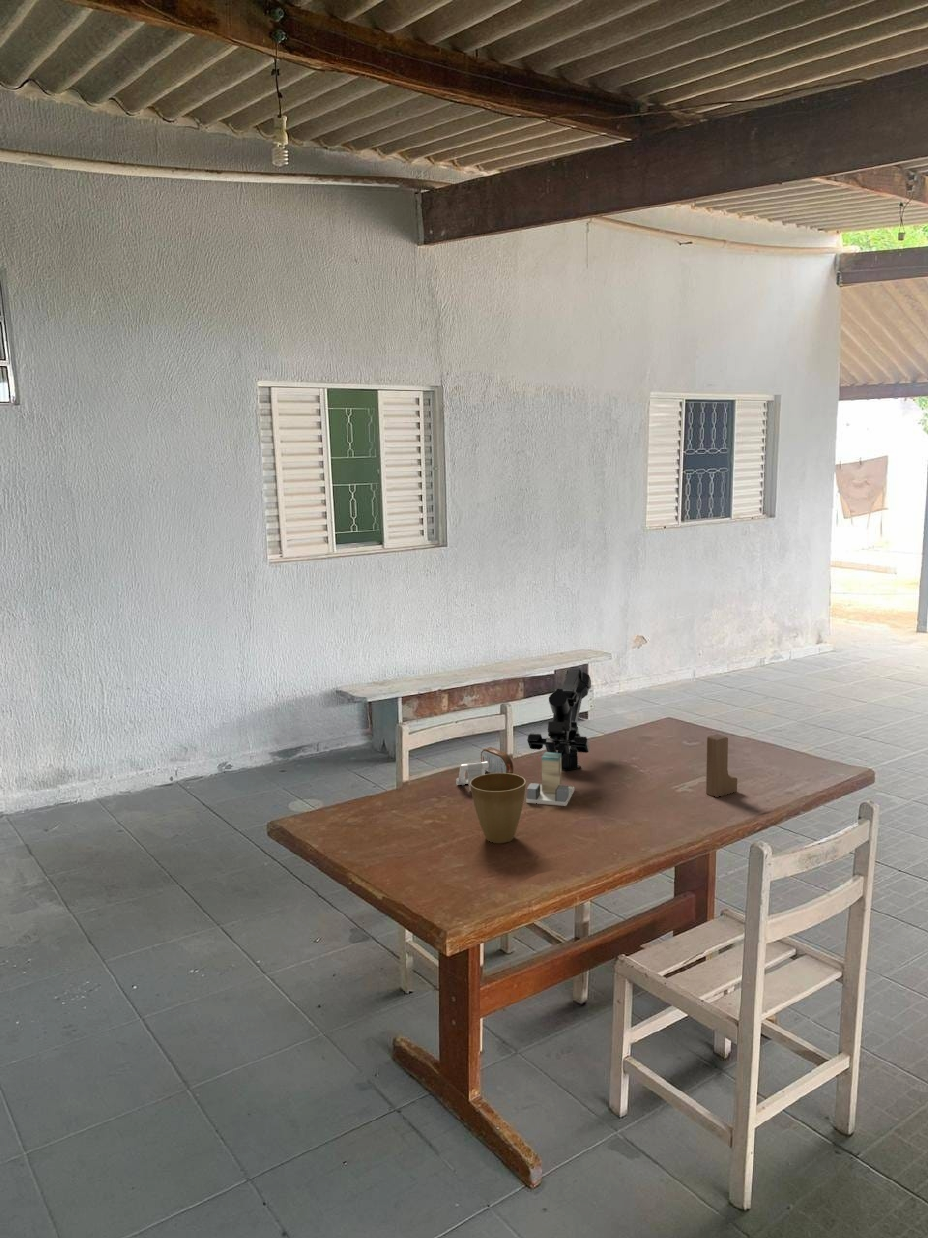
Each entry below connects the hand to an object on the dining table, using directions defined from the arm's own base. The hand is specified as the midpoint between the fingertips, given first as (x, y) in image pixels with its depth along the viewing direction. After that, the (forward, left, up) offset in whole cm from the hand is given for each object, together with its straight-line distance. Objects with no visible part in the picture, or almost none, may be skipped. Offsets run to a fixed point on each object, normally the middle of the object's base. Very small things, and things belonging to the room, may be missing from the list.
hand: (554, 767), depth 284 cm
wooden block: (+29, +41, -7) cm, 51 cm away
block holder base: (+4, -4, -7) cm, 10 cm away
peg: (+3, -3, -6) cm, 7 cm away
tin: (-22, -8, -7) cm, 25 cm away
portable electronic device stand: (-16, -20, -8) cm, 27 cm away
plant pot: (+24, -34, -7) cm, 42 cm away
